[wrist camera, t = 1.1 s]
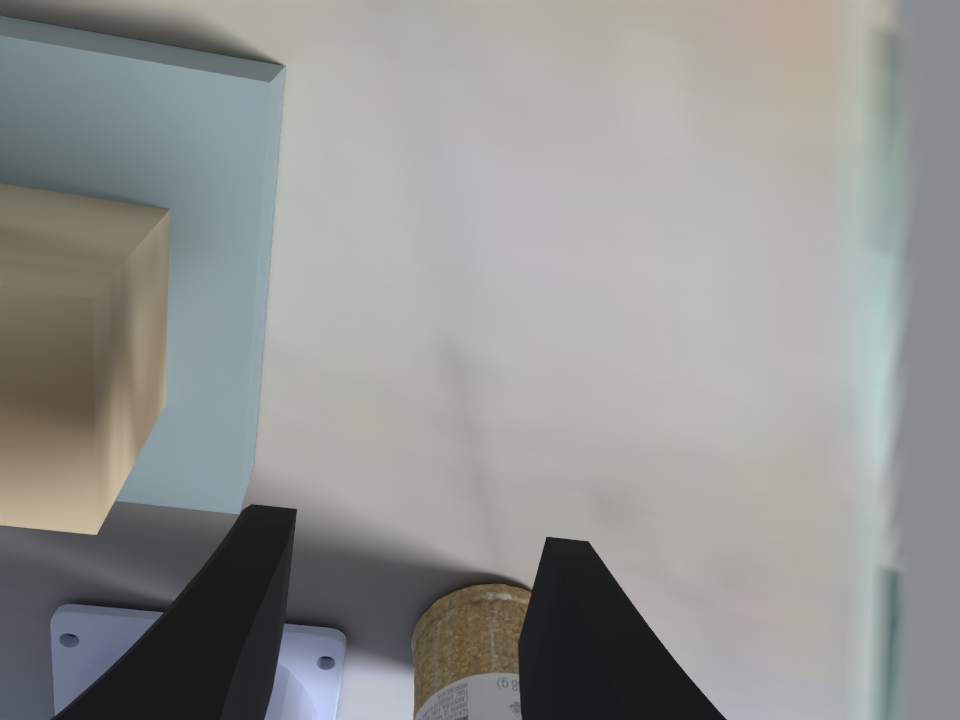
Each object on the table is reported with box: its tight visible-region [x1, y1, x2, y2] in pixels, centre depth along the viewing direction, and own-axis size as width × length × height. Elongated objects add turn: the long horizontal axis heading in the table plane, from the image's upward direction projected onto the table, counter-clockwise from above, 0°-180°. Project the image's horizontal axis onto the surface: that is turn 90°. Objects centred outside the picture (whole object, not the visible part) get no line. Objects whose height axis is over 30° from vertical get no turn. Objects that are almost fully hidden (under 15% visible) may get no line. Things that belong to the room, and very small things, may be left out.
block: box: [0, 183, 170, 535], centre depth 16 cm, size 4×4×4 cm
